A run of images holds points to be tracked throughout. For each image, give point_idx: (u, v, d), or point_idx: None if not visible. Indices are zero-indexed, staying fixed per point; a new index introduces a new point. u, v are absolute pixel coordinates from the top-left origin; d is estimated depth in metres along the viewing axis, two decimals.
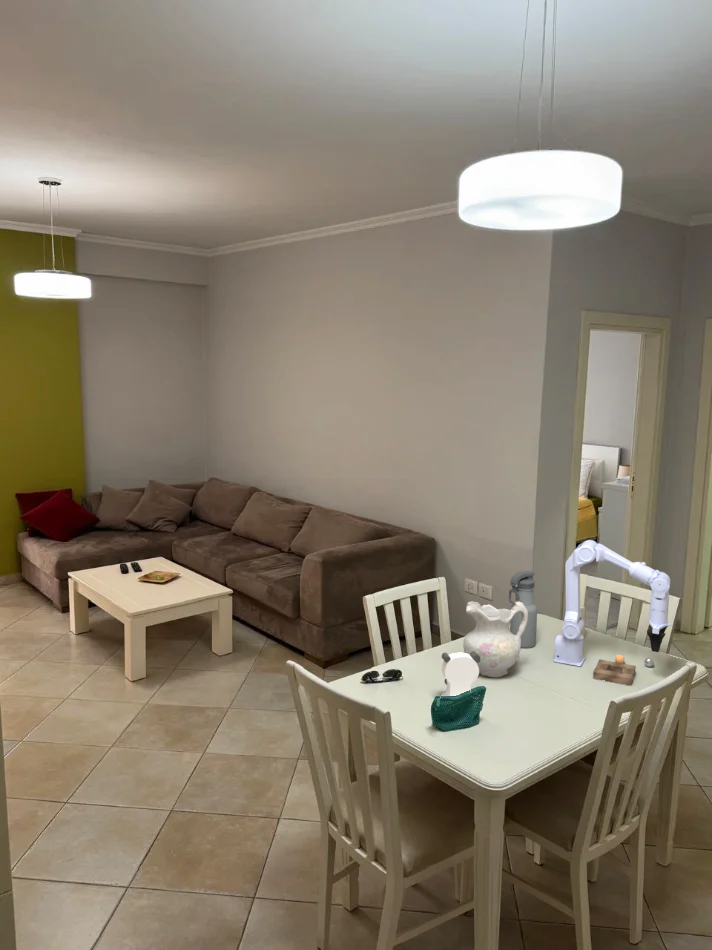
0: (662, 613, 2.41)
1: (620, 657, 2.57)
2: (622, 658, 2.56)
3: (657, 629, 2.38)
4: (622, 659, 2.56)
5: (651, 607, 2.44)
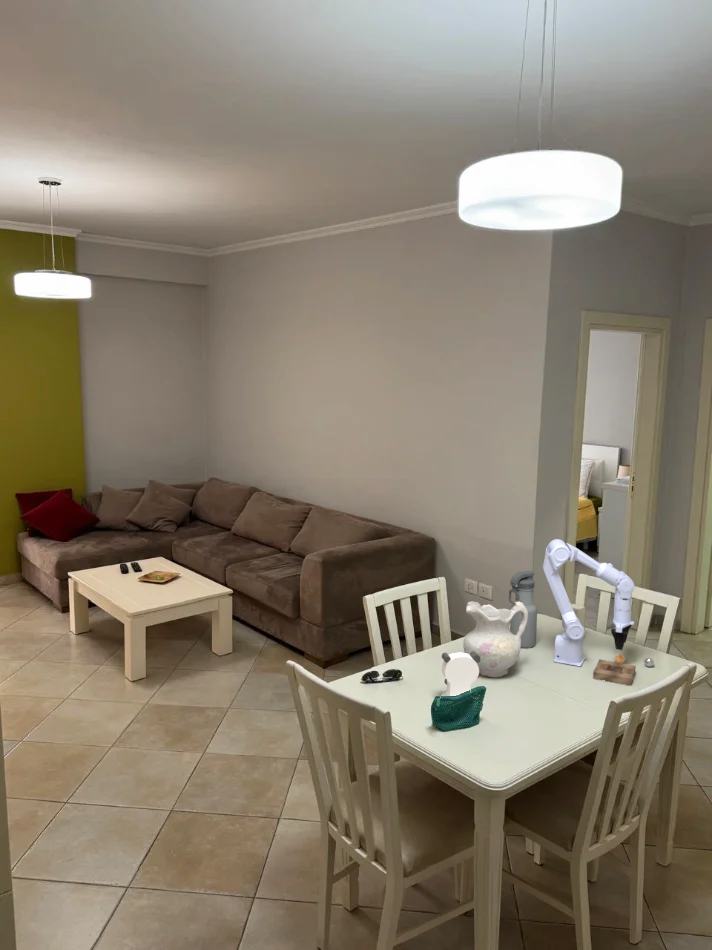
0: (625, 612, 2.52)
1: (620, 657, 2.57)
2: (622, 658, 2.56)
3: (620, 628, 2.49)
4: (622, 659, 2.56)
5: (617, 608, 2.54)
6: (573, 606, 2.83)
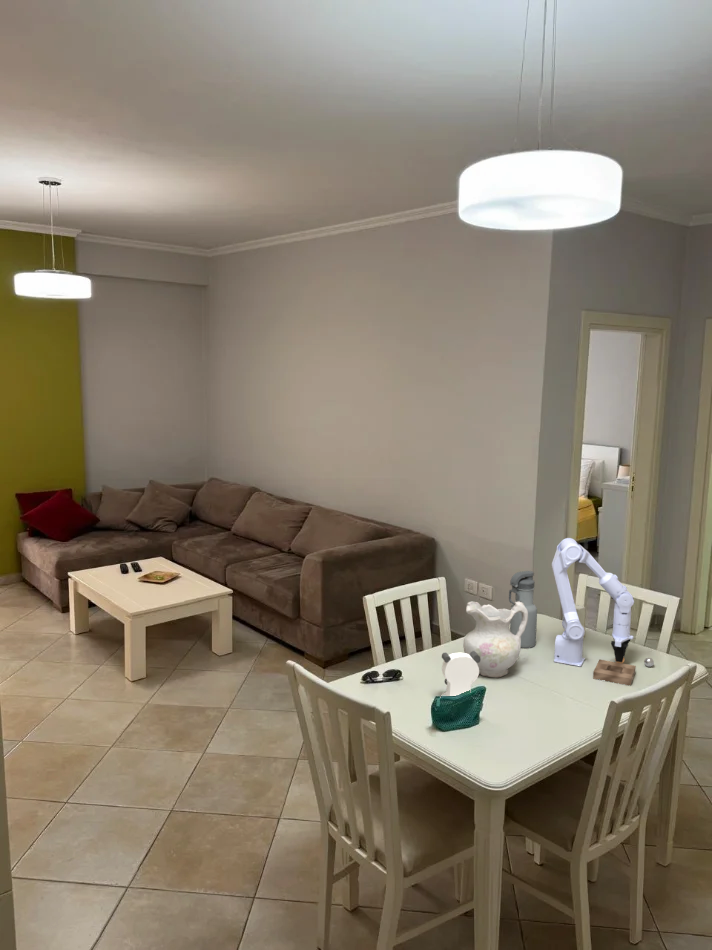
0: (624, 627, 2.53)
1: None
2: None
3: (619, 642, 2.50)
4: None
5: (616, 622, 2.54)
6: None
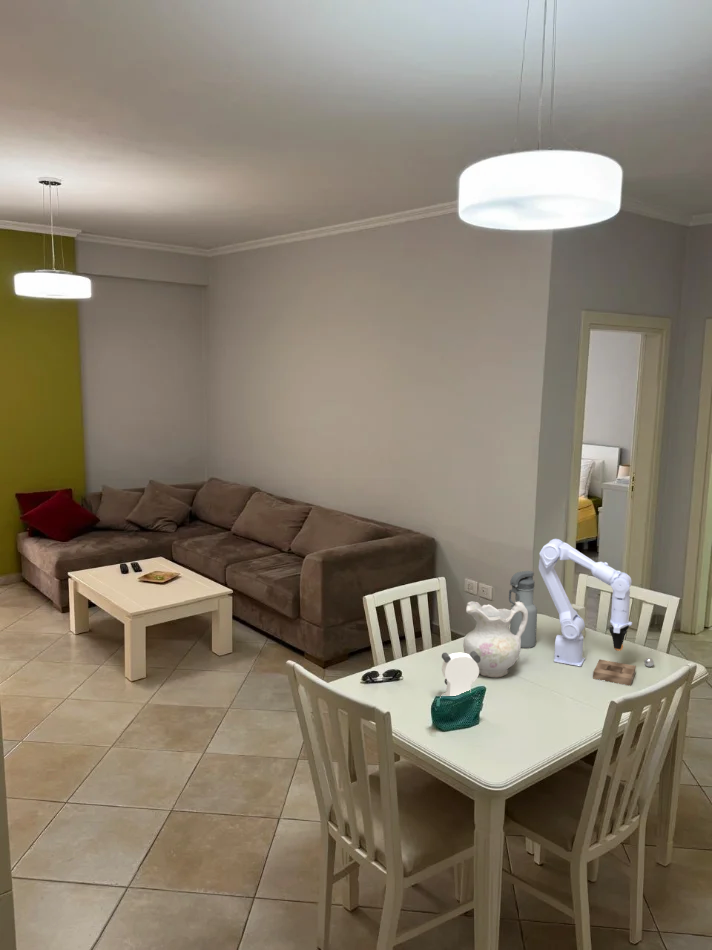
0: (623, 613, 2.47)
1: None
2: None
3: (618, 628, 2.43)
4: (621, 646, 2.50)
5: (612, 607, 2.49)
6: (573, 606, 2.83)
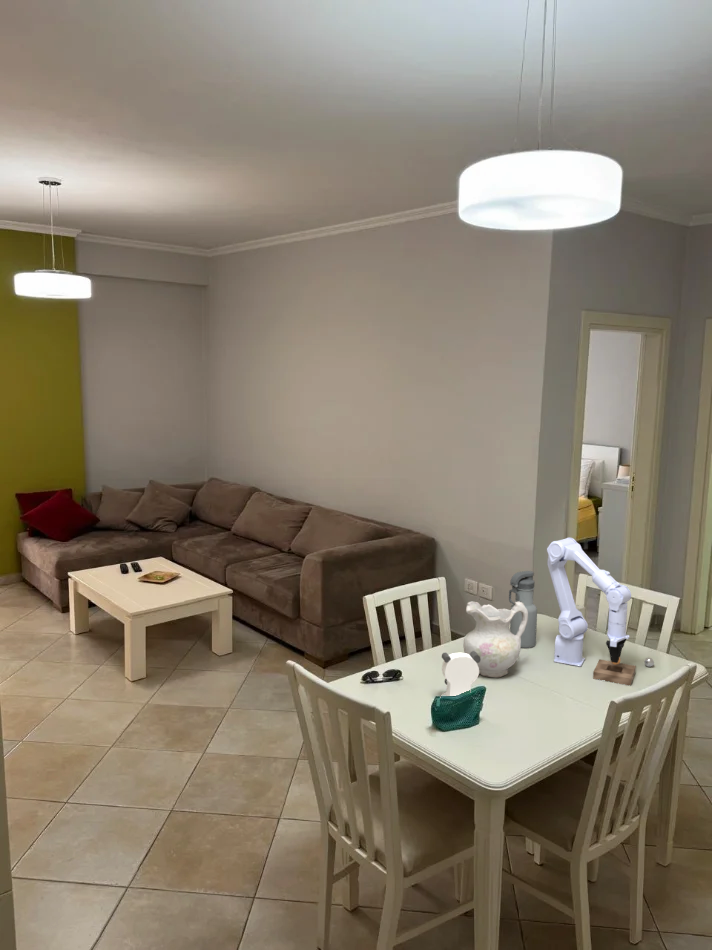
0: (620, 626, 2.42)
1: None
2: None
3: (614, 642, 2.39)
4: (618, 660, 2.45)
5: None
6: None
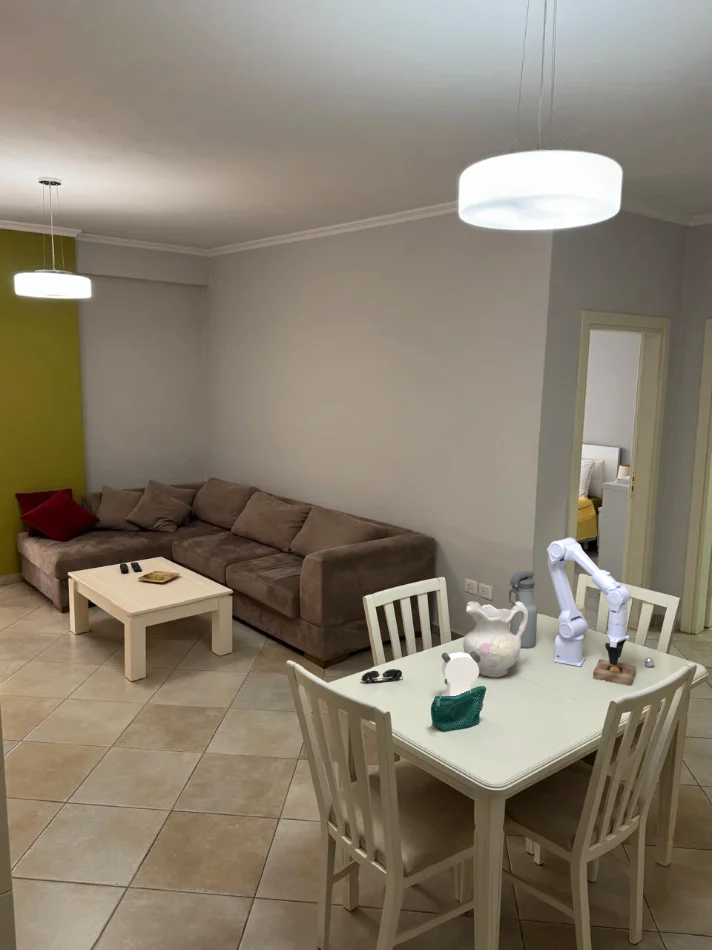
0: (620, 626, 2.42)
1: (615, 669, 2.46)
2: (617, 670, 2.46)
3: (614, 642, 2.39)
4: (617, 671, 2.46)
5: None
6: None
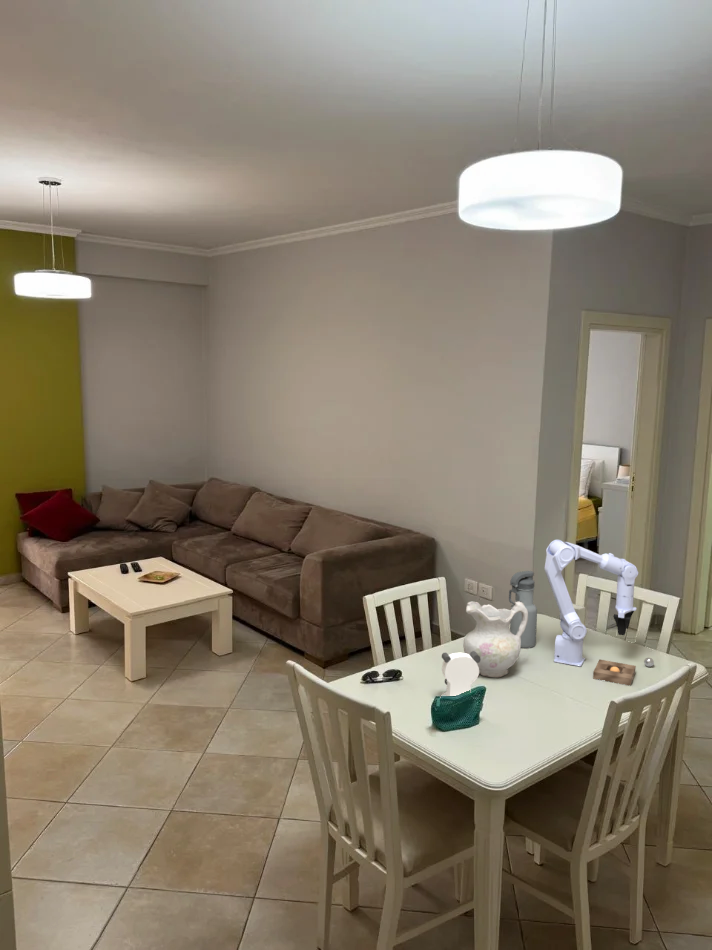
0: (628, 598, 2.56)
1: (615, 669, 2.46)
2: (617, 671, 2.46)
3: (622, 613, 2.52)
4: None
5: (621, 594, 2.56)
6: (573, 606, 2.83)
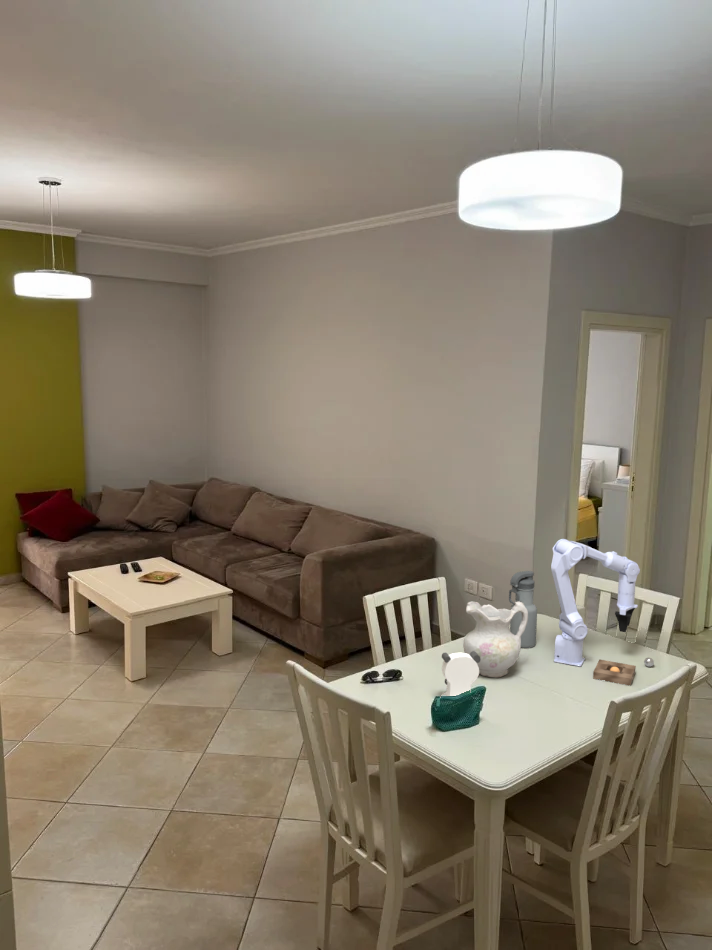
0: (629, 596, 2.59)
1: (615, 669, 2.46)
2: (617, 671, 2.46)
3: (624, 610, 2.56)
4: None
5: (623, 592, 2.59)
6: None
